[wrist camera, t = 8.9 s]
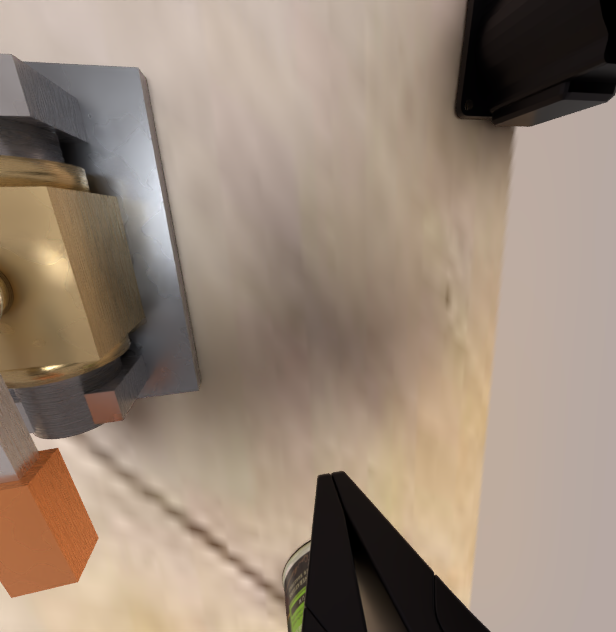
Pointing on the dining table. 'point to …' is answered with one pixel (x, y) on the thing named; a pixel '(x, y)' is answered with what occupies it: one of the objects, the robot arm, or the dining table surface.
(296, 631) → the coffee can
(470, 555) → the dining table surface
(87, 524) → the valve lever
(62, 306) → the pipe valve
